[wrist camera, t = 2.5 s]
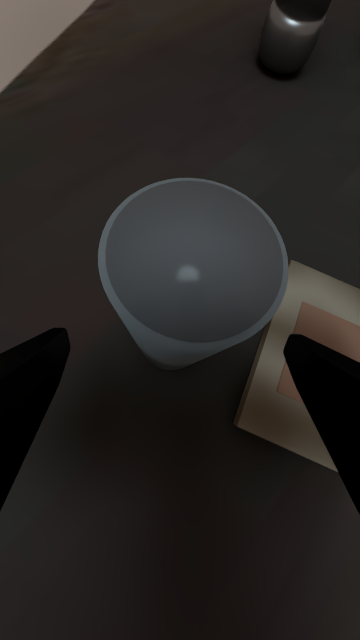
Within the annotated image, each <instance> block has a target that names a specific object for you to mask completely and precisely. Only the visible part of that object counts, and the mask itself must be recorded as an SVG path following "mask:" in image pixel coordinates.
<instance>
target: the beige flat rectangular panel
mask: <svg viewBox="0 0 360 640" xmlns="http://www.w3.org/2000/svg"><path fill="white" fill-rule="evenodd" d="M290 334H302V335H304V336H306V337H308V338H310V339H312V340H314V341H316V342H318V343H320V344H323V345H325V346H327V347H329V348H331V349H333V350H335V351H337V352H339V353H341V354H343V355H345V356H347V357H349V358H352V359H354V360H356V361H358V362H360V289H358V288H356V287H353V286H351V285H349V284H346V283H344V282H342V281H340V280H337V279H335V278H333V277H330V276H328V275H326V274H323V273H321V272H319V271H316V270H314V269H312V268H309V267H307V266H305V265H303V264H300V263H298V262H296V261H293V260H291V261H289V262H288V282H287V288H286V292H285V294H284V297H283V300H282V302H281V304H280V306H279V308H278V310H277V312H276V313H275V314H274V316H273V317H272V319H271V320H270V321H269V322H268V323H267V324H266V325H265V328H264V331H263V334H262V337H261V340H260V343H259V347H258V350H257V353H256V356H255V359H254V362H253V365H252V368H251V371H250V374H249V377H248V380H247V383H246V386H245V389H244V392H243V395H242V398H241V401H240V404H239V407H238V410H237V413H236V416H235V419H234V422H233V424H234V425H235V426H237V427H239V428H241V429H244V430H246V431H248V432H250V433H252V434H255V435H257V436H259V437H261V438H264V439H266V440H268V441H270V442H272V443H275V444H277V445H279V446H281V447H283V448H286V449H288V450H290V451H292V452H295V453H297V454H299V455H301V456H303V457H306V458H308V459H310V460H312V461H314V462H317V463H319V464H321V465H323V466H326V467H328V468H330V469H332V470H334V471H337V469H336V467H335V465H334V463H333V461H332V459H331V457H330V455H329V453H328V451H327V449H326V447H325V445H324V443H323V441H322V439H321V437H320V435H319V433H318V431H317V429H316V427H315V425H314V423H313V421H312V419H311V417H310V415H309V413H308V411H307V409H306V407H305V405H304V403H303V401H302V399H301V397H300V395H299V393H298V391H297V389H296V386H295V384H294V382H293V379H292V376H291V374H290V371H289V368H288V366H287V363H286V360H285V357H284V354H283V350H284V347H285V344H286V341H287V339H288V336H289V335H290ZM337 472H338V471H337Z"/></svg>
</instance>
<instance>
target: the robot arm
mask: <svg viewBox="0 0 360 640" xmlns="http://www.w3.org/2000/svg"><path fill="white" fill-rule="evenodd" d="M69 352H70V342H69V338H68V333H67V330H66V329H65V328H52V329H50V330H48V331H46V332H44V333H42V334H40V335H38V336H36V337H34V338H32V339H30V340H28V341H26V342H23V343H21V344H19V345H17V346H15V347H13V348H11V349H9V350H7V351H5V352H3V353H1V354H0V511H1V508H2V506H3V504H4V502H5V500H6V498H7V496H8V493H9V491H10V489H11V487H12V485H13V483H14V480H15V478H16V476H17V474H18V472H19V470H20V468H21V465H22V463H23V461H24V459H25V457H26V455H27V453H28V450H29V448H30V446H31V444H32V442H33V440H34V437H35V435H36V433H37V431H38V429H39V427H40V425H41V422H42V420H43V418H44V416H45V414H46V412H47V410H48V407H49V405H50V403H51V401H52V399H53V397H54V395H55V392H56V390H57V388H58V386H59V383H60V380H61V377H62V374H63V371H64V368H65V365H66V362H67V359H68V356H69ZM283 354H284V357H285V360H286V363H287V366H288V368H289V371H290V374H291V376H292V379H293V382H294V384H295V386H296V389H297V391H298V393H299V395H300V397H301V399H302V401H303V403H304V405H305V407H306V409H307V411H308V413H309V415H310V417H311V419H312V421H313V423H314V425H315V427H316V429H317V431H318V433H319V435H320V437H321V439H322V441H323V443H324V445H325V447H326V449H327V451H328V453H329V455H330V457H331V459H332V461H333V463H334V465H335V467H336V469H337V471H338V473H339V475H340V477H341V479H342V481H343V483H344V485H345V487H346V489H347V491H348V493H349V495H350V497H351V499H352V501H353V503H354V505H355V507H356V509H357V511H358V512H359V513H360V362H358V361H356V360H354V359H352V358H349V357H347V356H345V355H343V354H341V353H339V352H337V351H335V350H333V349H331V348H329V347H327V346H325V345H323V344H320V343H318V342H316V341H314V340H312V339H310V338H308V337H306V336H304V335H302V334H290V335H289V336H288V339H287V341H286V344H285V347H284V350H283Z"/></svg>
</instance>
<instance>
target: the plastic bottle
mask: <svg viewBox="0 0 360 640" xmlns="http://www.w3.org/2000/svg"><path fill="white" fill-rule="evenodd" d="M330 3H331V0H273V2H272V4H271V7H270V9H269V11H268V14H267V17H266V19H265V22H264V25H263V27H262V32H261V37H260V43H259V54H260V60H261V62H262V63H263V65H264V66H265V67H267V68H268V69H269V70H271V71H273V72H276V73H280V74H290V73H294V72H296V71H297V70H298V69H299V68H301V67H302V66H303V65H304V64H305V62H306V61H307V59H308V58H309V56H310V54H311V53H312V51H313V49H314V48H315V45H316V43H317V40H318V37H319V35H320V32H321V29H322V26H323V23H324V20H325V17H326V12H327V10H328V8H329V5H330Z"/></svg>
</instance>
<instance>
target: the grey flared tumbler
mask: <svg viewBox="0 0 360 640" xmlns="http://www.w3.org/2000/svg"><path fill="white" fill-rule="evenodd" d="M98 267H99V273H100V278H101V281H102V284H103V288H104V290H105V292H106V294H107V296H108V298H109V300H110V302H111V304H112V305H113V307H114V308H115V310H116V312H117V313H118V315H119V316H120V318H121V319H122V321H123V323H124V324H125V326H126V327H127V329H128V331H129V332H130V334H131V335H132V337H133V339H134V340H135V342H136V343H137V345H138V346H139V348H140V350H141V351H142V353H143V354H144V356H145V357H146V359H147V360H148V361H149V362H150V363H151V364H152V365H154V366H155V367H157V368H159V369H162V370H167V371H173V370H179V369H182V368H184V367H187V366H189V365H191V364H193V363H196V362H198V361H200V360H202V359H205V358H207V357H209V356H211V355H213V354H216V353H218V352H220V351H222V350H225V349H227V348H229V347H231V346H234V345H236V344H238V343H240V342H242V341H244V340H246V339H248V338H250V337H251V336H253V335H254V334H256V333H257V332H258V331H260V330H261V329H262V328H263V327H264V326H265V325H266V324H267V323H268V322H269V321H270V320H271V319H272V317H273V316H274V314H275V313H276V312H277V310H278V308H279V306H280V304H281V302H282V300H283V297H284V294H285V292H286V288H287V282H288V258H287V253H286V249H285V245H284V243H283V240H282V238H281V235H280V233H279V232H278V230H277V228H276V226H275V225H274V223H273V222H272V220H271V219H270V218H269V216H268V215H267V214H266V213H265V212H264V211H263V210H262V209H261V208H260V207H259V206H258V205H257V204H256V203H255V202H254V201H252V200H251V199H249V198H248V197H247V196H245V195H244V194H242V193H240V192H239V191H237V190H235V189H233V188H230V187H228V186H226V185H223V184H220V183H217V182H214V181H209V180H204V179H196V178H177V179H169V180H164V181H160V182H157V183H154V184H151V185H148V186H146V187H144V188H142V189H140V190H138V191H137V192H135V193H134V194H132V195H131V196H129V197H128V198H127V199H126V200H125V201H123V202H122V203H121V204H120V205H119V206H118V208H117V209H116V210H115V211H114V212H113V214H112V215H111V217H110V218H109V220H108V221H107V224H106V226H105V228H104V230H103V233H102V236H101V239H100V243H99V251H98Z"/></svg>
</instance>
